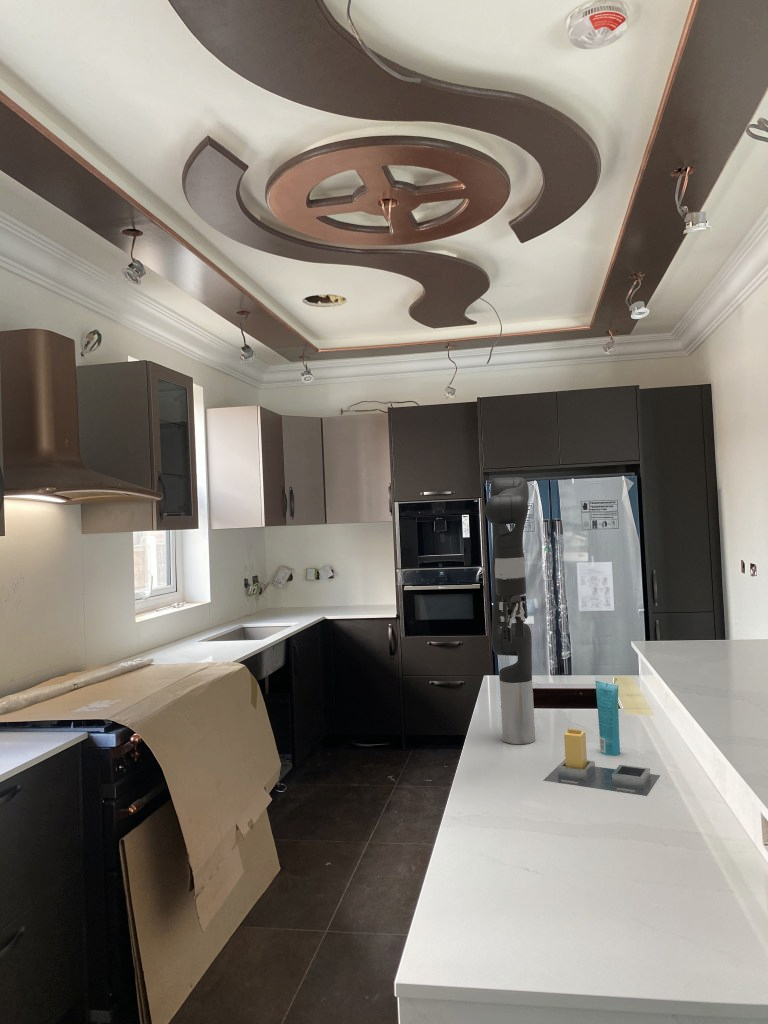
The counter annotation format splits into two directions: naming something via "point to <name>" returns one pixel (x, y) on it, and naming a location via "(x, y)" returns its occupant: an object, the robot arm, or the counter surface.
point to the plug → (575, 748)
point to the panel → (606, 778)
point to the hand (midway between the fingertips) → (513, 640)
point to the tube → (608, 718)
